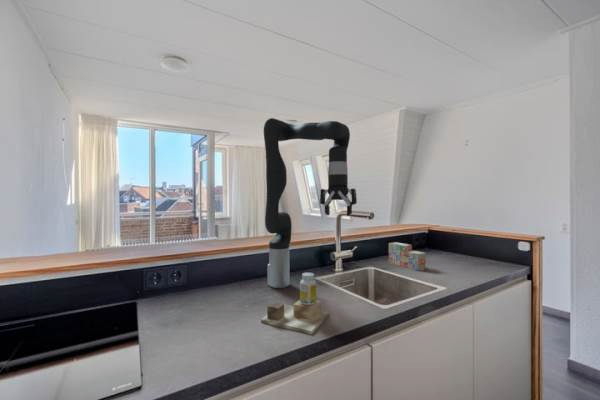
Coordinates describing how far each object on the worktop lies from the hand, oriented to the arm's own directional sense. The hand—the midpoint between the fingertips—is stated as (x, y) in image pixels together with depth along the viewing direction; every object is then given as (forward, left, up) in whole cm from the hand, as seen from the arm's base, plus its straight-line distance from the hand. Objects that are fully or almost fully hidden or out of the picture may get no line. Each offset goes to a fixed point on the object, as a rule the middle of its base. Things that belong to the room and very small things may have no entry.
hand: (338, 215), depth 109 cm
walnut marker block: (-12, -26, -33) cm, 44 cm away
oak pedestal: (-4, -20, -33) cm, 39 cm away
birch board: (-7, -23, -33) cm, 41 cm away
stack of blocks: (+18, +66, -34) cm, 76 cm away
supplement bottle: (-4, -20, -28) cm, 35 cm away
